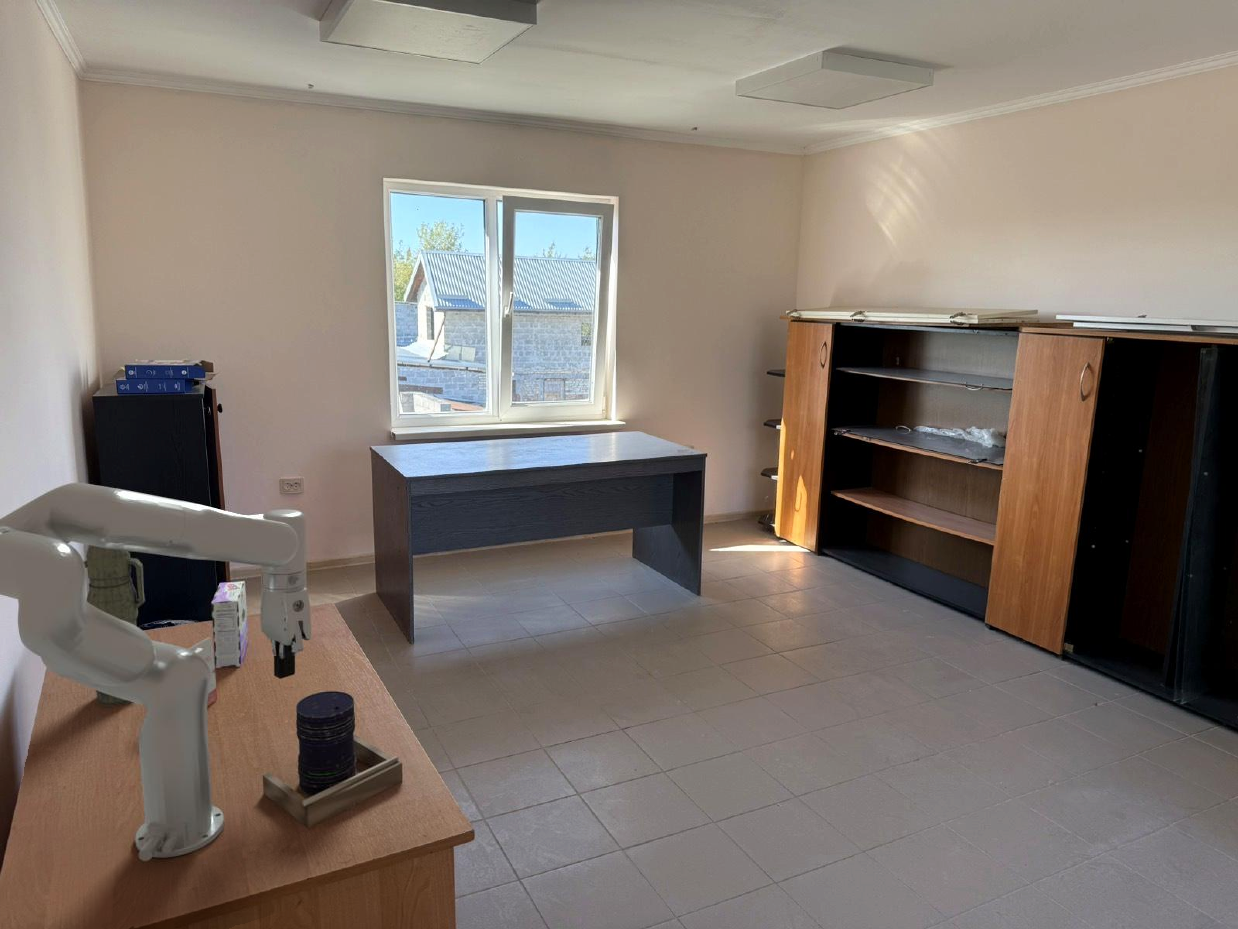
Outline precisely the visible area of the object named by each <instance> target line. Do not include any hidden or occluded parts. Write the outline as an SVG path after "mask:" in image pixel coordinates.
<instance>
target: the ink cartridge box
mask: <svg viewBox="0 0 1238 929" xmlns="http://www.w3.org/2000/svg"><path fill="white" fill-rule="evenodd" d="M188 649H189V650H192V651H194V652H196V653H198V654H199V655H201V656H202V657H203V658H204V659H205V660H206V662H207V663H208V665H209V667H210V671H211V683H210V689H209V695H208V702H207V708H208V707H210V705H212V704H214V703H215V702H216V701H217V700H218V695H217V681H216V679H217V678H216V668H215V656H214V646H213V641H212V637H211V636H208V637H207V638H205V639H203V640H201V641H200V642H197V643H196V644H194V645H192V646H191V647H189V648H188Z"/></svg>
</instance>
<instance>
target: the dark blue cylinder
mask: <svg viewBox="0 0 1238 929" xmlns="http://www.w3.org/2000/svg"><path fill="white" fill-rule="evenodd" d="M354 706H355V699H354V697H353V696H352V695H351V694H349V693H346V692H343V691H336V690H329V691H321V692H316V693H313V694H309V695H308V696H305V697H303V698H302V699H301V700H300V701H298V702H297V704H296V720H295V723H296V724H295V726H296V737H297V739H298V748H299V749H298V750H299V752H298V756H297V758H298V759H297V763H298V764H297V774H298V779H299V780H298V782H299V784H298V786H299V790H301V792H302V793H305V794H306V795H308V796H311V797H312V796H314V795H316V794H318V793H320V792H322V791H324V790H326V789H328V788H330V787H332V786H335V785H337V784H339V783H341V782H343V781H345V780H347V779H349V778H351V777H353V776H355V775H357V774H356V769H357V768H356V766H357V758H356V752H355V747H354V735H355V734H354V732H355V729H356V722H355V721H356V713H355V707H354Z"/></svg>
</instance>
